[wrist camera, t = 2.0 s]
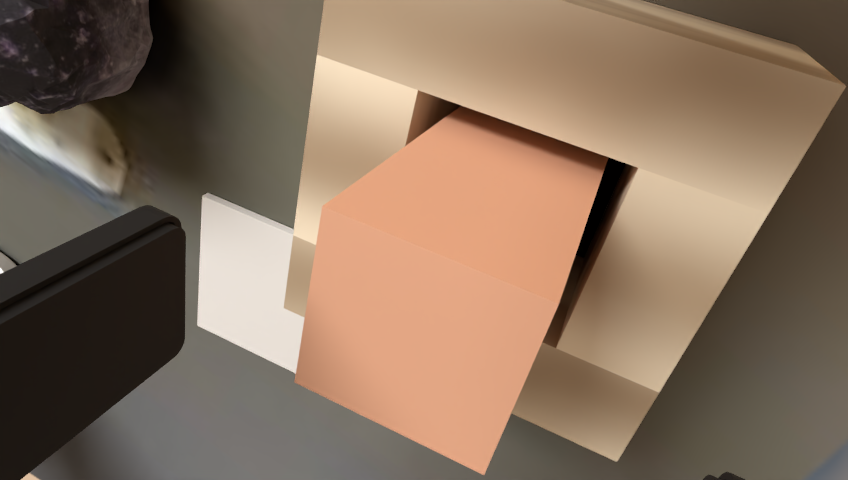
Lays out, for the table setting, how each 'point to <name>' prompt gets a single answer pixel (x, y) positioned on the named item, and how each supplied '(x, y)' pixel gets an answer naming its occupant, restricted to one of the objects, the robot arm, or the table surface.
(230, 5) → the table surface
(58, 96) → the crystal cluster
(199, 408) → the table surface
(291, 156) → the table surface
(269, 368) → the table surface
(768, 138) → the beige square frame
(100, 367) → the robot arm
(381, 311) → the plug
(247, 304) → the mat
